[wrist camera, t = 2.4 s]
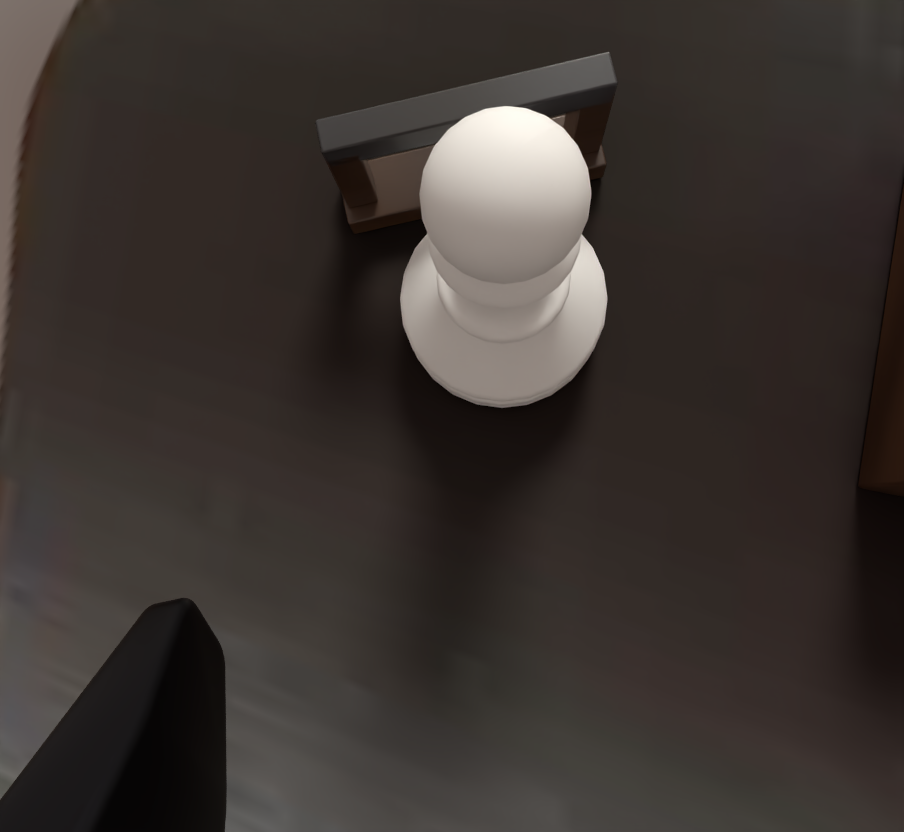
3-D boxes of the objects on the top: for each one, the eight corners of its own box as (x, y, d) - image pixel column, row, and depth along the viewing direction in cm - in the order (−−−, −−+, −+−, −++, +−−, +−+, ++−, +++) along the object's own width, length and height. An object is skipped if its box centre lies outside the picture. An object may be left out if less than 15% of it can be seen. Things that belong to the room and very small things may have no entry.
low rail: (589, 122, 21) (610, 32, 17) (603, 178, 21) (627, 99, 17) (341, 179, 21) (306, 103, 18) (353, 235, 21) (320, 171, 17)
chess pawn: (501, 449, 20) (503, 397, 11) (367, 313, 21) (270, 164, 12) (640, 313, 21) (749, 159, 12) (503, 183, 21) (507, -59, 12)
